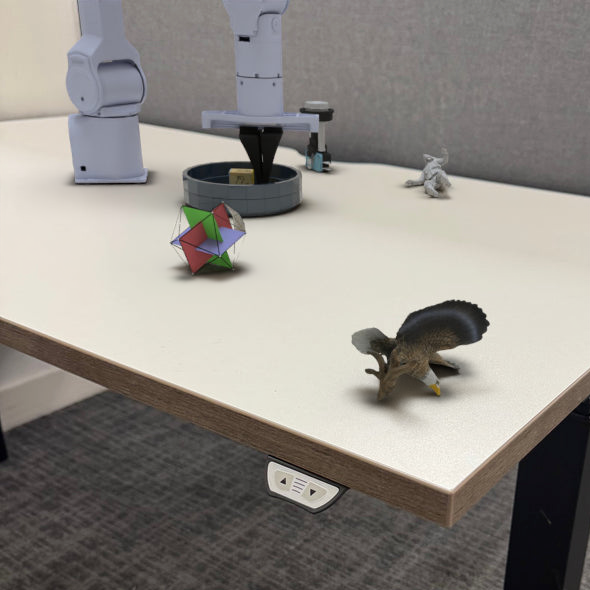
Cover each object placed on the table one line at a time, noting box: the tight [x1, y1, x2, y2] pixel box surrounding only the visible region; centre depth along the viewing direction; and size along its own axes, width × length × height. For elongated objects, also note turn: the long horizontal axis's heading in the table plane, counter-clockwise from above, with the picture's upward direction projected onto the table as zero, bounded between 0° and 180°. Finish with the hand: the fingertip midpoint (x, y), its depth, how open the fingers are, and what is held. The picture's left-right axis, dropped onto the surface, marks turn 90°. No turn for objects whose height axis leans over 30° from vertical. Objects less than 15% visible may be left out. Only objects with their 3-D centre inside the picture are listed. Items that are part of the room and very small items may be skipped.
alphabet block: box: [229, 169, 254, 185], centre depth 106 cm, size 3×3×3 cm
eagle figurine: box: [351, 299, 491, 402], centre depth 57 cm, size 8×7×9 cm
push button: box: [298, 100, 335, 173], centre depth 123 cm, size 7×5×10 cm
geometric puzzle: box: [169, 202, 248, 275], centre depth 79 cm, size 7×7×8 cm
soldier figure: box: [404, 148, 452, 198], centre depth 116 cm, size 8×5×12 cm
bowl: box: [181, 160, 303, 218], centre depth 103 cm, size 15×15×4 cm
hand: (263, 187), depth 103 cm, fingers closed
